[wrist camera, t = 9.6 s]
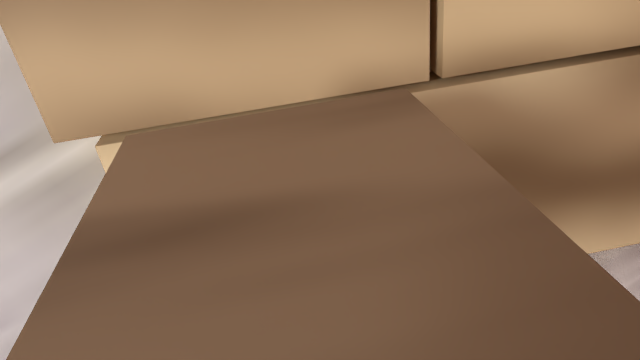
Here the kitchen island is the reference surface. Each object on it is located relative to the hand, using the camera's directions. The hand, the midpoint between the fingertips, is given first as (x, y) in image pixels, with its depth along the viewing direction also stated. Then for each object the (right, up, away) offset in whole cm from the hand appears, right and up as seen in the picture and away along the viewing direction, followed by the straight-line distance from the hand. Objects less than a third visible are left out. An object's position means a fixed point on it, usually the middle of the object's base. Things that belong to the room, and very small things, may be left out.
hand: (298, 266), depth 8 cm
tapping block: (0, +1, +1) cm, 1 cm away
